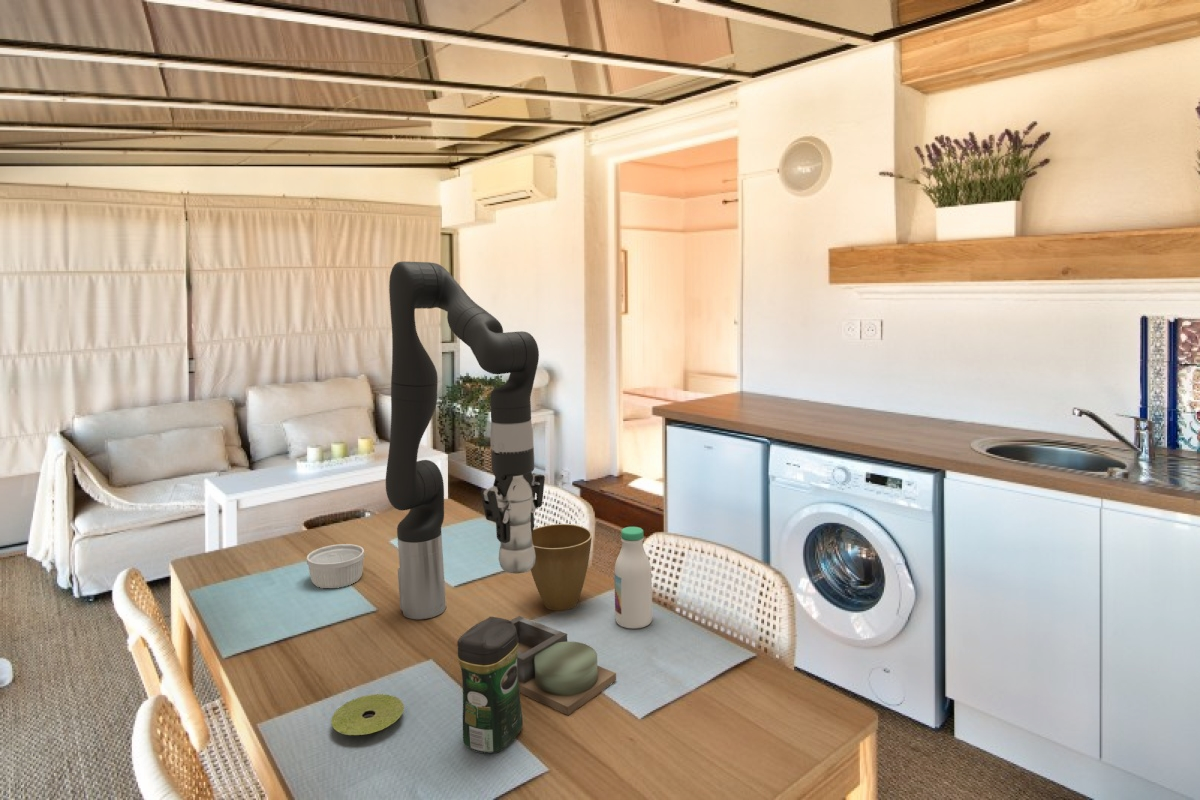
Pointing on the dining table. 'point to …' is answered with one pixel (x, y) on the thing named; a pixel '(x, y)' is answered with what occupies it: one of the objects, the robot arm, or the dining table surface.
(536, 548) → the plant pot
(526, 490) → the plastic bottle
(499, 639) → the coffee jar
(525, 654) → the stand
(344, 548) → the ramekin
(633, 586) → the milk bottle
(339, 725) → the green sanding disc
